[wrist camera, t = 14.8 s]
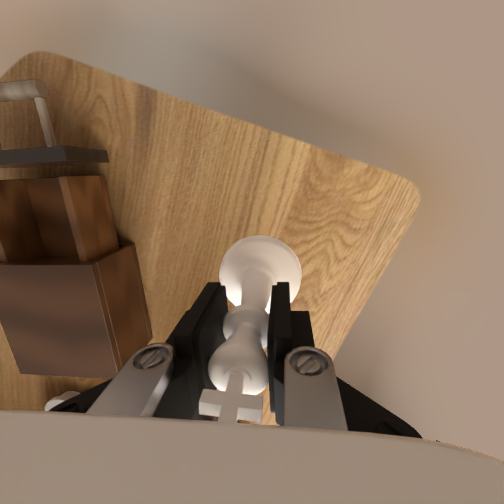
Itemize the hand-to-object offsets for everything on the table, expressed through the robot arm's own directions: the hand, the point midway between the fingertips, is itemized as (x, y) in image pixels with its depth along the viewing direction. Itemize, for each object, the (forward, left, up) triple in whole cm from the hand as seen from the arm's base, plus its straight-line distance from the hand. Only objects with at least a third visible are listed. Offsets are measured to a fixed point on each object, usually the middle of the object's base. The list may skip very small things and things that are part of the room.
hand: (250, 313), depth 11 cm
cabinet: (-4, -24, -19) cm, 31 cm away
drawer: (-16, -17, -18) cm, 30 cm away
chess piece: (0, 0, -5) cm, 5 cm away
